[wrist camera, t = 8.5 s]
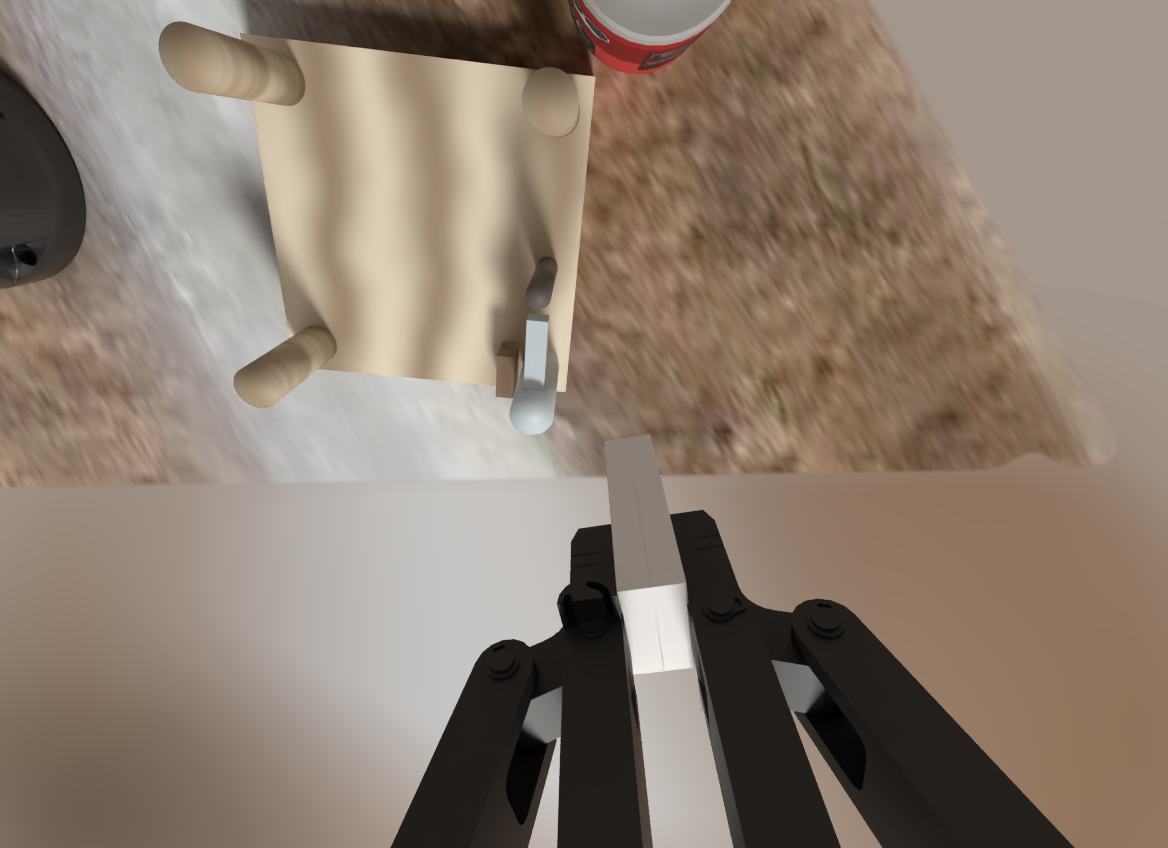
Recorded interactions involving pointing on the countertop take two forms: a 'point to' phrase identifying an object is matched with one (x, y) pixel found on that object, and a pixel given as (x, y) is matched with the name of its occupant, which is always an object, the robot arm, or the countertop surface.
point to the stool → (405, 204)
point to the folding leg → (536, 380)
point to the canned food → (642, 29)
